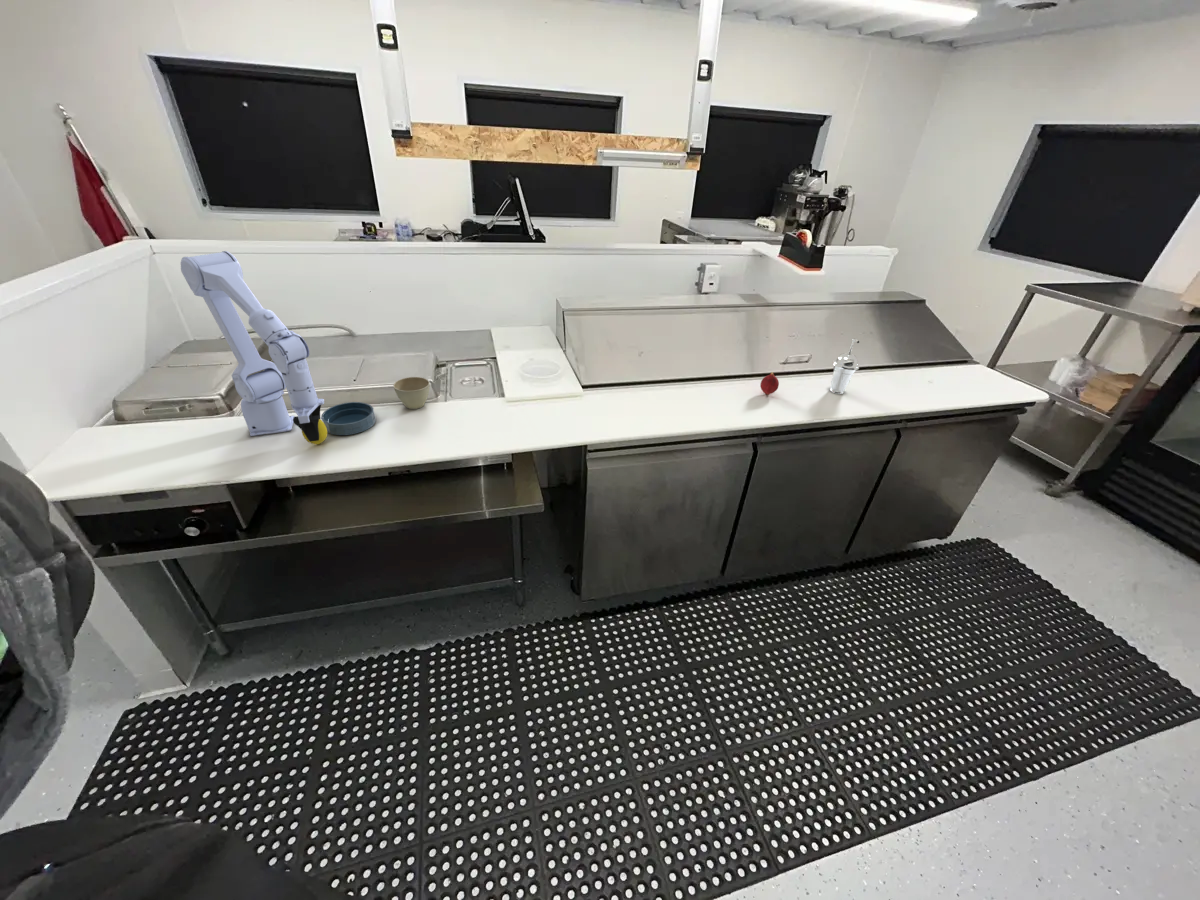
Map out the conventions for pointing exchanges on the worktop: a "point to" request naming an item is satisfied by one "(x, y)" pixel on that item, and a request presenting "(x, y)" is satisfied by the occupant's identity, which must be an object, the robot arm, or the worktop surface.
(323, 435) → the lemon
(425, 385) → the flower pot
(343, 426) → the bowl
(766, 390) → the onion
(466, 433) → the worktop surface
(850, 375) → the cup with straw
